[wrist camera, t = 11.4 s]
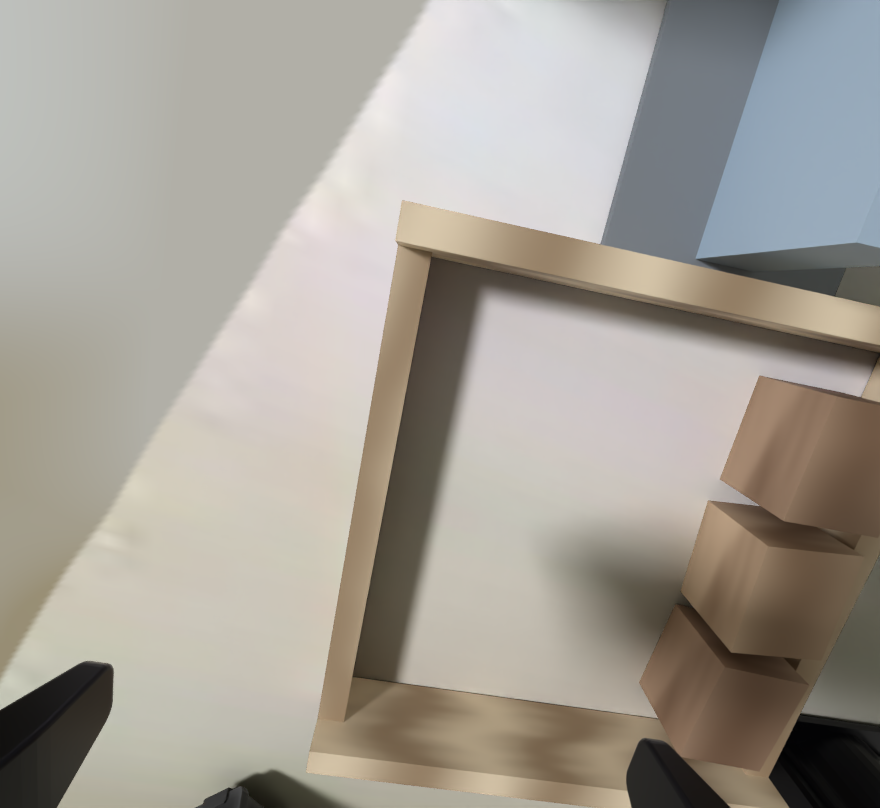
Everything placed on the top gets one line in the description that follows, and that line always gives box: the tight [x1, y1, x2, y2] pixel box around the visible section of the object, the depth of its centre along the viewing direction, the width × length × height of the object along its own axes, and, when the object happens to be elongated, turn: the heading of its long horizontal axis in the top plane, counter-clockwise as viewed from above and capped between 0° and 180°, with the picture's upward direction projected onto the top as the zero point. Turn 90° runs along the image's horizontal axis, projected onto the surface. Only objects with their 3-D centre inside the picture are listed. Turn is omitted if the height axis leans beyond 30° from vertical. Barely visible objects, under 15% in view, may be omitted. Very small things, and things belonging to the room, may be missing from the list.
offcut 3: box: [639, 604, 809, 772], centre depth 22 cm, size 4×5×4 cm
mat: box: [601, 0, 846, 296], centre depth 17 cm, size 10×13×1 cm
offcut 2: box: [681, 501, 864, 661], centre depth 20 cm, size 4×5×4 cm
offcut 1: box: [720, 376, 880, 538], centre depth 19 cm, size 4×5×4 cm
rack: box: [306, 200, 880, 808], centre depth 20 cm, size 22×23×4 cm
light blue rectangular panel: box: [696, 0, 880, 272], centre depth 13 cm, size 2×12×7 cm, turn 169°
